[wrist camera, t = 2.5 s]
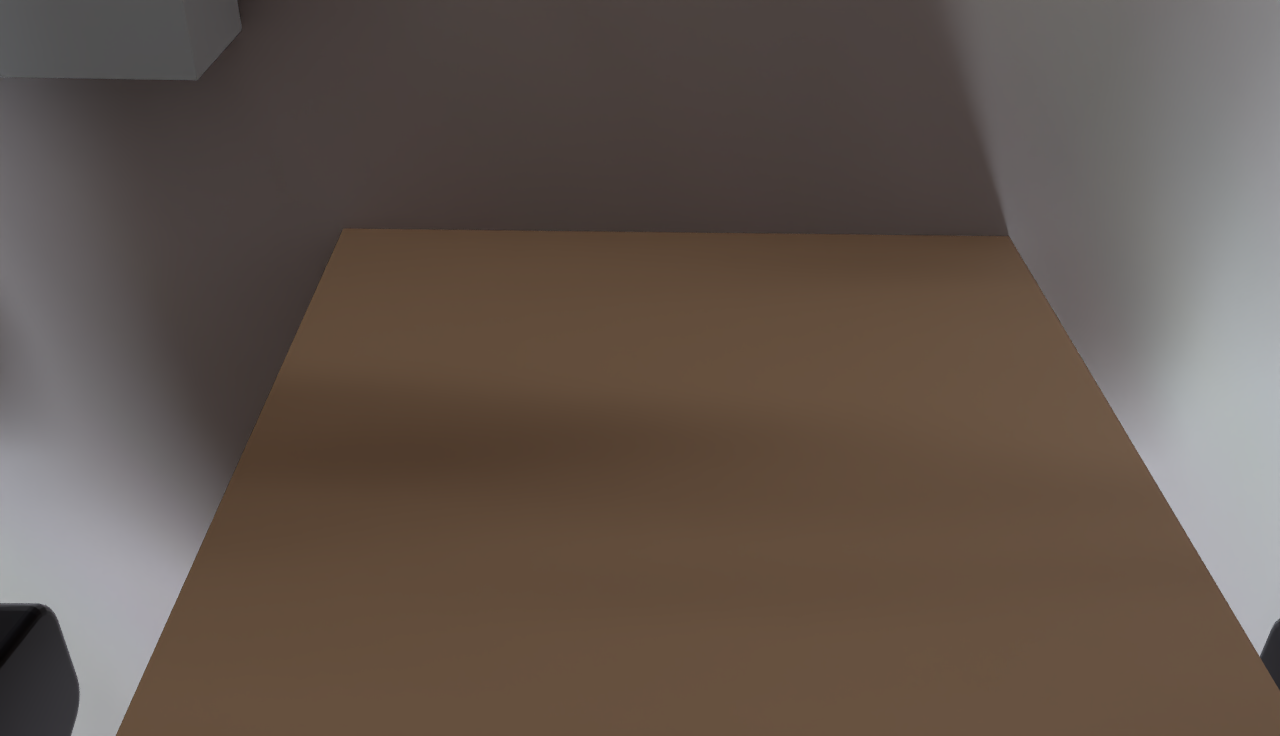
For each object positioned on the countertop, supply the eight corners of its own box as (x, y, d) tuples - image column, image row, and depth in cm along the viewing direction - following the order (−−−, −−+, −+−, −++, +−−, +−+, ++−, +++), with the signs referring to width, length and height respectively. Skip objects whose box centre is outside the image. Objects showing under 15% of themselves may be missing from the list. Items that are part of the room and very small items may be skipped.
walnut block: (912, 688, 12) (1070, 1290, 8) (404, 686, 12) (280, 1294, 8) (1005, 231, 9) (1330, 775, 5) (345, 223, 9) (100, 770, 5)
